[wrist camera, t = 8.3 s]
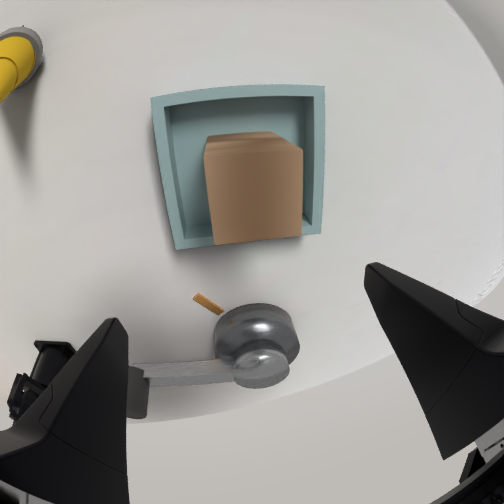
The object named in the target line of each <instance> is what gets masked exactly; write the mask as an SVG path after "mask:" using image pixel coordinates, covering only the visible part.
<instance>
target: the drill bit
mask: <svg viewBox="0 0 504 504" xmlns="http://www.w3.org/2000/svg"><path fill="white" fill-rule="evenodd" d="M42 52H43V46H42V41H41V39H40V37H39V35H38V34H37V33H36V32H35V31H33V30H32V29H29V28H27V27H24V25H23V26H22V27H14V28H11V29H8V30H6V31H4V32H2V33H1V34H0V103H1V102H2V101H3V100H4V99H5V98H6V97H7V96H8V95H9V94H10V93H11V92H12V91H13V90H15V89H17V88H19V87H21V86H22V85H24V84H25V83H26V82H27V81H29V80H30V78H31V77H32V76H33V75H34V73H35V71H36V70H37V67H38V65H39V62H40V60H41V57H42Z"/></svg>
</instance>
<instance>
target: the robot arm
mask: <svg viewBox="0 0 504 504" xmlns="http://www.w3.org/2000/svg"><path fill="white" fill-rule="evenodd" d="M364 287H365V290H366V292H367V295H368V297H369V299H370V302H371V304H372V306H373V309H374V311H375V313H376V316H377V318H378V320H379V323H380V325H381V326H382V328H383V330H384V332H385V334H386V336H387V338H388V339H389V341H390V343H391V345H392V347H393V349H394V351H395V353H396V355H397V357H398V359H399V361H400V362H401V365H402V366H403V369H404V370H405V373H406V375H407V377H408V379H409V381H410V383H411V385H412V387H413V389H414V391H415V394H416V395H417V398H418V400H419V402H420V405H421V407H422V409H423V411H424V414H425V416H426V419H427V421H428V423H429V425H430V428H431V431H432V433H433V435H434V438H435V440H436V443H437V446H438V448H439V451H440V453H441V456H442V458H443V460H445V459H447V458H448V457H450V456H452V455H453V454H455V453H457V452H458V451H460V450H462V449H463V448H465V447H466V446H468V445H469V444H471V443H472V442H474V441H475V443H476V445H477V447H476V448H475V449H474V450H473V451H471V452H470V453H469V454H468V457H467V460H466V463H465V466H464V469H463V472H462V475H461V478H460V480H459V482H460V485H458V486H457V487H455V488H454V489H452V490H451V491H449V492H448V493H447V494H445V495H443V496H442V497H440V498H439V499H437V500H435V501H433V502H432V503H430V504H504V320H501V319H499V318H497V317H494V316H492V315H489V314H487V313H485V312H482V311H480V310H478V309H475V308H473V307H471V306H469V305H467V304H465V303H463V302H461V301H459V300H457V299H454V298H453V297H451V296H449V295H447V294H445V293H443V292H441V291H439V290H436V289H434V288H432V287H430V286H428V285H426V284H424V283H422V282H420V281H418V280H415V279H413V278H411V277H409V276H407V275H405V274H403V273H400V272H398V271H396V270H394V269H392V268H389V267H387V266H385V265H383V264H380V263H378V262H374V263H370V264H367V265H366V268H365V277H364ZM34 345H35V347H36V348H37V349H38V351H39V355H38V357H37V360H36V362H35V365H34V367H33V370H32V372H31V375H30V377H29V376H28V375H27V374H26V373H24V374H23V375H22V374H18V373H17V375H16V378H15V380H14V383H13V386H12V389H11V392H10V395H9V398H8V401H7V404H8V406H9V408H10V409H9V411H10V415H9V417H10V418H11V419H13V420H14V421H13V426H12V427H11V428H9V429H7V430H4V431H0V504H130V502H129V492H128V477H127V459H126V413H127V391H128V375H129V366H128V334H127V332H126V330H125V329H124V327H123V326H122V324H121V323H120V321H119V320H118V319H117V318H115V317H114V318H108V319H106V320H105V321H104V322H103V323H102V324H101V325H100V326H99V327H98V329H97V330H96V331H95V332H94V333H93V334H92V335H91V336H90V337H89V339H88V340H87V341H86V342H85V343H84V344H83V345H82V346H81V348H80V349H79V350H78V351H77V352H75V350H74V349H73V348H72V346H71V345H70V344H69V343H67V342H50V341H35V342H34ZM23 390H24V392H23Z"/></svg>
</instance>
